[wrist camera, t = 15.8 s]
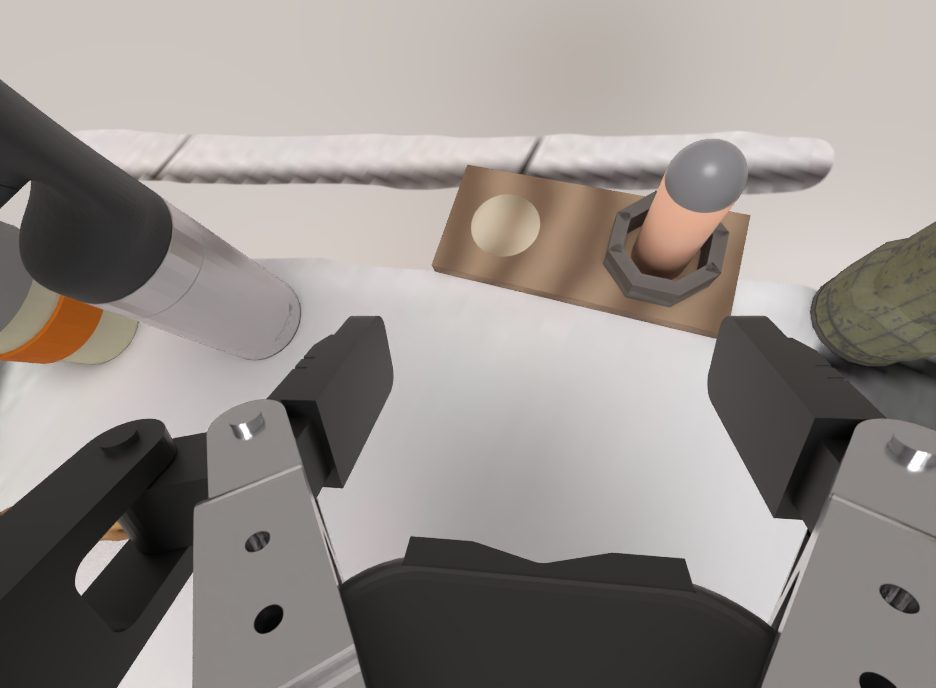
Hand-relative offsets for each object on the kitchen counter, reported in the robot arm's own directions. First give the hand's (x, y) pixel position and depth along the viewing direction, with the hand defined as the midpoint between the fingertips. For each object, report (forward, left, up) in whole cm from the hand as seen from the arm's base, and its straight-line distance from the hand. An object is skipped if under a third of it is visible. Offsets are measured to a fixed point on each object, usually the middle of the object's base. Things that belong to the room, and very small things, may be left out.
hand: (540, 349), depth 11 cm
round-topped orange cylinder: (+6, +19, -29) cm, 35 cm away
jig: (-1, +19, -31) cm, 36 cm away
